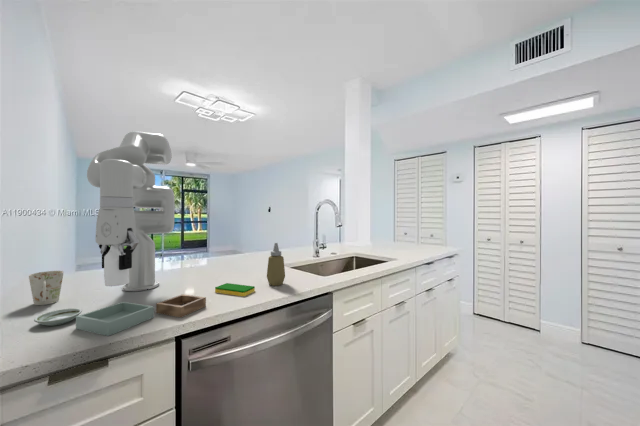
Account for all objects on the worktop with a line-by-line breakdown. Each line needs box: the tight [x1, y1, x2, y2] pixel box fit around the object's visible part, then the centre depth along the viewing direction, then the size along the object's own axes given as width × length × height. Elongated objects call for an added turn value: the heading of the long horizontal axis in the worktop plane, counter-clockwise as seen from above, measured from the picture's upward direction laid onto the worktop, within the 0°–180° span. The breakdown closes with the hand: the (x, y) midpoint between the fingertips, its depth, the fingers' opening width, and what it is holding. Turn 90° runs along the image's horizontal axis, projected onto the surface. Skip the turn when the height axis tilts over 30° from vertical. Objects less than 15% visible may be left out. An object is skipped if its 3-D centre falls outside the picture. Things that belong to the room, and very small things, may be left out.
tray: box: [75, 301, 155, 337], centre depth 76 cm, size 13×13×3 cm
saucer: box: [33, 307, 83, 327], centre depth 76 cm, size 10×10×2 cm
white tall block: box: [103, 245, 129, 287], centre depth 75 cm, size 6×12×6 cm
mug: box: [28, 270, 64, 306], centre depth 91 cm, size 8×13×10 cm, turn 45°
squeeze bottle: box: [266, 242, 286, 287], centre depth 116 cm, size 8×8×18 cm
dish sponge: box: [214, 282, 256, 297], centre depth 105 cm, size 7×14×2 cm, turn 70°
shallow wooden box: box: [155, 293, 207, 318], centre depth 86 cm, size 10×10×3 cm
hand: (116, 267), depth 75 cm, fingers closed on white tall block, 6 cm apart
